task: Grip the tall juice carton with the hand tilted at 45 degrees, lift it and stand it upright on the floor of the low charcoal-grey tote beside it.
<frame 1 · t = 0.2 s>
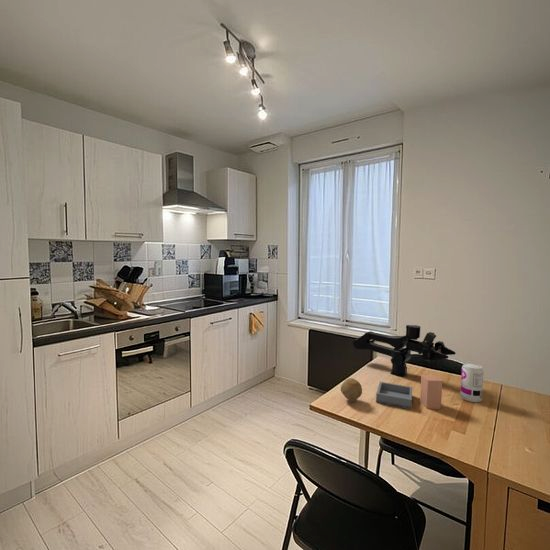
hand: (451, 355, 151), 17 cm above the table, tool horizontal, fingers open, 9 cm apart
carton: (430, 405, 136), on the table
natural sponge: (350, 401, 139), on the table
supplement can: (470, 399, 143), on the table
tote: (394, 398, 141), on the table
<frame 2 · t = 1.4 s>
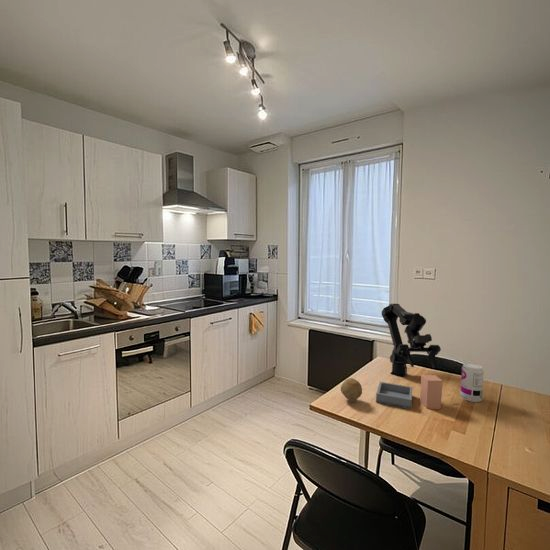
hand: (423, 367, 143), 14 cm above the table, tool tilted 45°, fingers open, 9 cm apart
nothing on the table moved.
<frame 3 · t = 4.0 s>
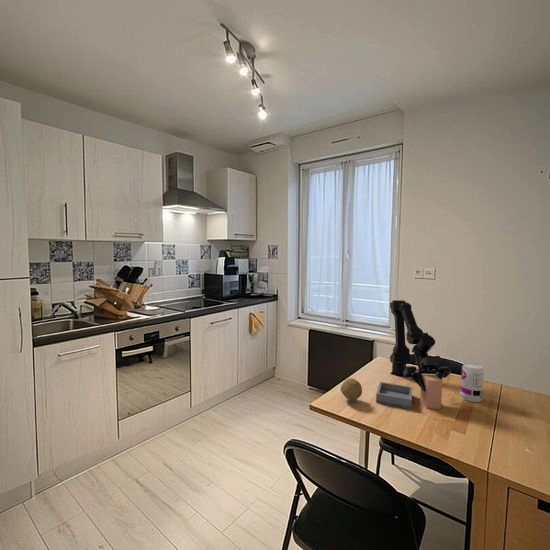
hand: (432, 391, 134), 7 cm above the table, tool tilted 45°, fingers closed on carton, 6 cm apart
carton: (430, 405, 136), on the table, touching gripper
everything else where it was.
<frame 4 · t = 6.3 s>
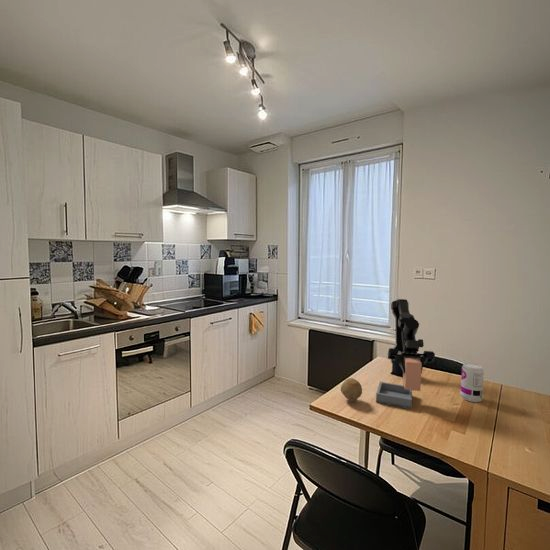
hand: (412, 373, 136), 13 cm above the table, tool tilted 45°, fingers closed on carton, 6 cm apart
carton: (411, 387, 138), point 7 cm above the table, touching gripper
everything else where it was.
when the fingers open (9 cm above the table, at t = 8.4 s): carton drops 1 cm, resting on tote.
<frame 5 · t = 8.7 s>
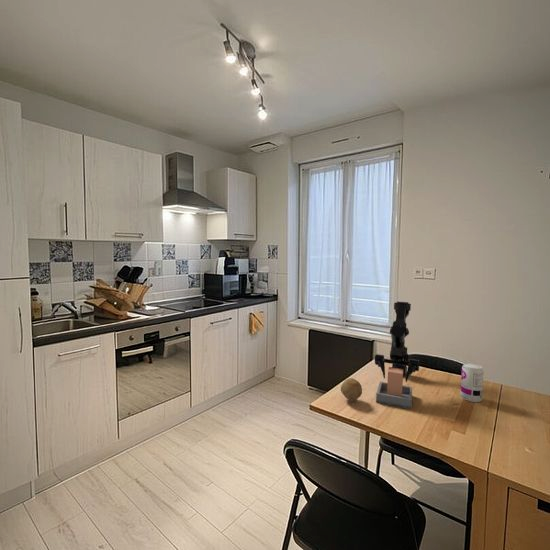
hand: (395, 380, 139), 9 cm above the table, tool tilted 45°, fingers open, 9 cm apart
carton: (394, 396, 141), point 1 cm above the table, touching tote
everything else where it was.
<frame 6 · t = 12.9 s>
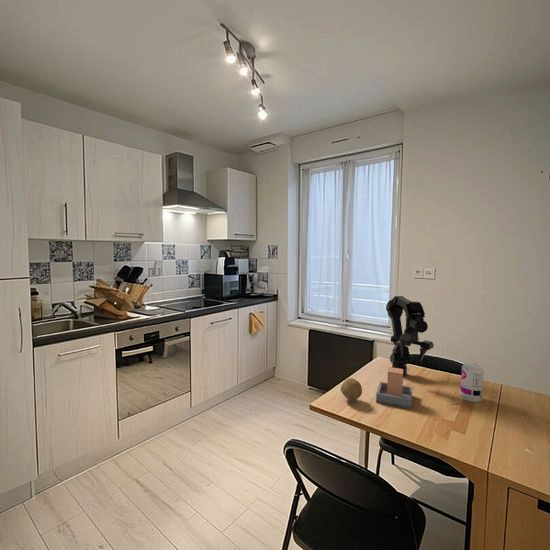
hand: (410, 359, 155), 13 cm above the table, tool pointing down, fingers open, 9 cm apart
nothing on the table moved.
at the end: carton inside the target area on the tote (0.0 cm from its centre), point 1.0 cm above the tote's base; carton tilted 0°; the gripper is holding nothing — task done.
